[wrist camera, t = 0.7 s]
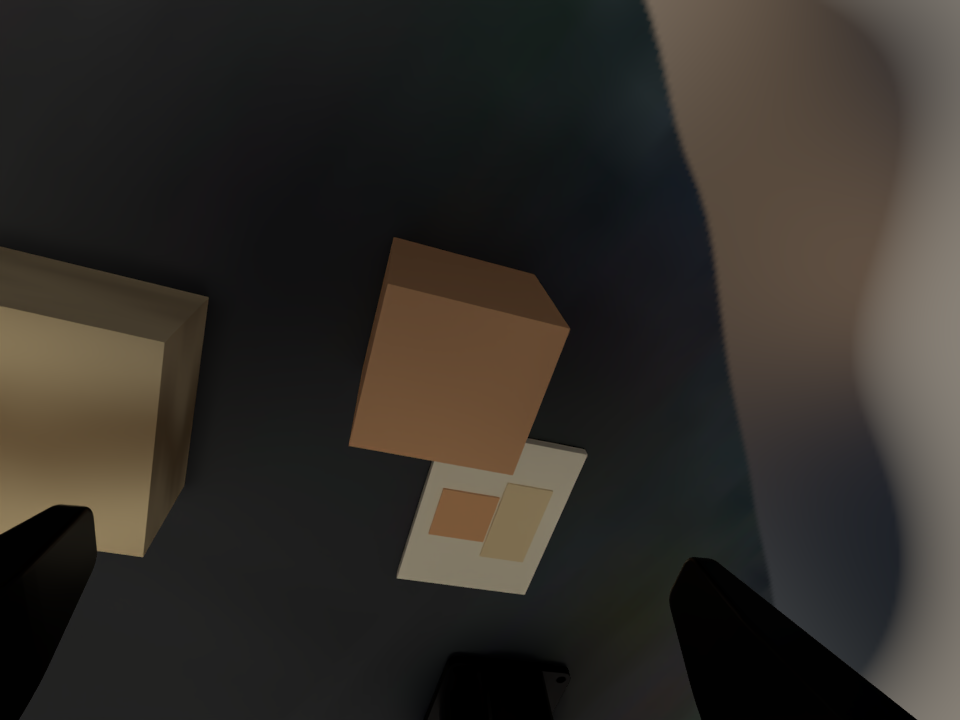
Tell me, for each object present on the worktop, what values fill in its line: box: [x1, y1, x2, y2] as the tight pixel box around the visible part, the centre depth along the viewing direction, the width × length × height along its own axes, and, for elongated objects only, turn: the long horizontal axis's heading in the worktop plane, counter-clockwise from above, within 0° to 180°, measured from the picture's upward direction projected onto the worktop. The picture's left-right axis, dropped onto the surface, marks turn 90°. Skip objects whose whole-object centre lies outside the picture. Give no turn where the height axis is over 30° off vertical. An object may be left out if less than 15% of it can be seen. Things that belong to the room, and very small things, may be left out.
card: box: [397, 438, 587, 595], centre depth 24 cm, size 8×6×1 cm
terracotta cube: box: [349, 237, 570, 475], centre depth 18 cm, size 5×5×5 cm
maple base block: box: [0, 246, 209, 557], centre depth 18 cm, size 8×8×4 cm
